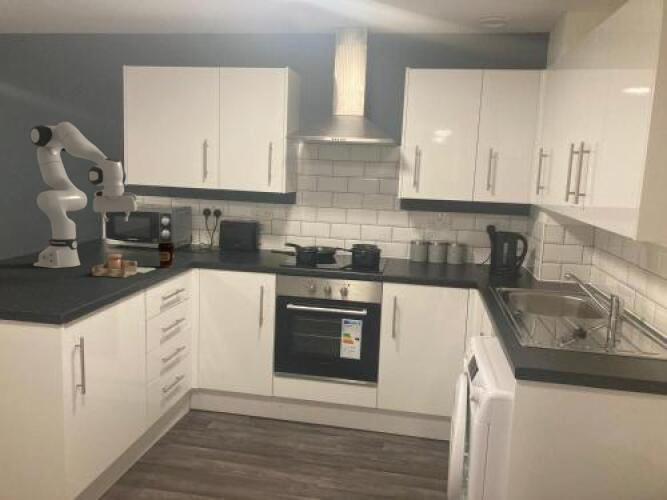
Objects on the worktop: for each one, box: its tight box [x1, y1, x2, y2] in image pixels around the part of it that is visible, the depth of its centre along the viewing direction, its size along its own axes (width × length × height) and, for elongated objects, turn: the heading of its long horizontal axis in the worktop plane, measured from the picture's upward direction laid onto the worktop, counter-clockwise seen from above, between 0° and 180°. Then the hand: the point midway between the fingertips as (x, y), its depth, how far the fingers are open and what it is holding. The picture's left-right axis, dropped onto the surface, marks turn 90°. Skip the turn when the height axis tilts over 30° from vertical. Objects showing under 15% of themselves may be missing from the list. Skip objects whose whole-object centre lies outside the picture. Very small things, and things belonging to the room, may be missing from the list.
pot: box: [106, 253, 122, 269], centre depth 278 cm, size 6×6×10 cm
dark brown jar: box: [157, 241, 176, 268], centre depth 302 cm, size 9×8×13 cm
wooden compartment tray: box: [91, 258, 138, 278], centre depth 279 cm, size 17×11×6 cm, turn 79°
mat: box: [137, 266, 156, 274], centre depth 291 cm, size 12×12×1 cm
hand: (116, 221), depth 278 cm, fingers open, 8 cm apart
